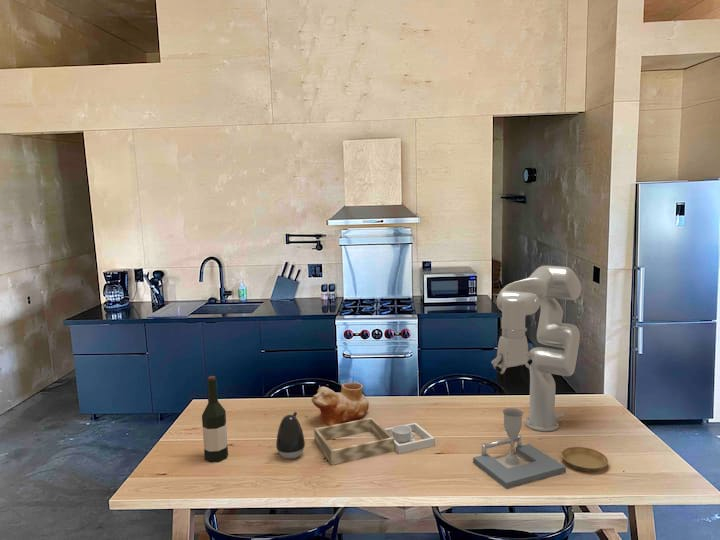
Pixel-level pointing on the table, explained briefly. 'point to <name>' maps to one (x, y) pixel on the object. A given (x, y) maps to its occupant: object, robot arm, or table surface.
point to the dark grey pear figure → (290, 437)
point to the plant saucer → (584, 458)
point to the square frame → (415, 445)
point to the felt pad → (507, 464)
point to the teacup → (402, 434)
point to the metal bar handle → (500, 443)
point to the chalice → (512, 431)
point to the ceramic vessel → (341, 404)
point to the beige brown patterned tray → (355, 451)
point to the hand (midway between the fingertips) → (513, 381)
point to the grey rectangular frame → (521, 467)
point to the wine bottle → (214, 426)
